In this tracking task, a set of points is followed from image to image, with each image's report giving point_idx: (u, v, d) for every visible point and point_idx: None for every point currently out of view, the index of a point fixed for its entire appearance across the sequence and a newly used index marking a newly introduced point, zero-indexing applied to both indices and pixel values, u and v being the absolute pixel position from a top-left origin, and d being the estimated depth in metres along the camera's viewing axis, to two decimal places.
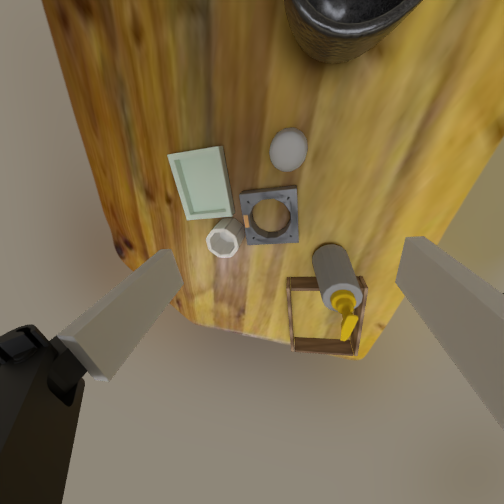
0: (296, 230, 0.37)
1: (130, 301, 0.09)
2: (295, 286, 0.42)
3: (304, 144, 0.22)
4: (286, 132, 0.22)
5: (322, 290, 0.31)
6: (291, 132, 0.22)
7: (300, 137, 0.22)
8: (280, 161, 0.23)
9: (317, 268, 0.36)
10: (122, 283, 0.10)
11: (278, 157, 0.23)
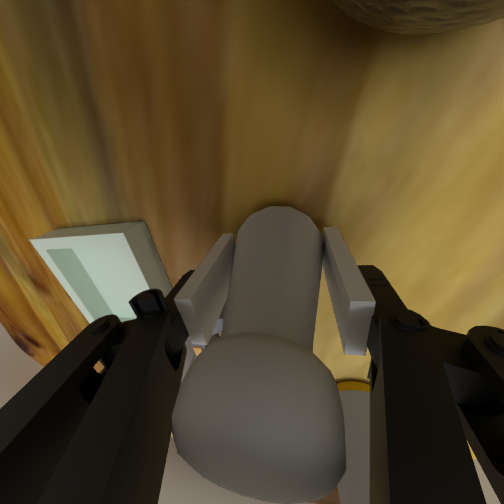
0: None
1: (215, 276, 0.10)
2: None
3: (341, 462, 0.04)
4: (236, 409, 0.04)
5: None
6: (264, 419, 0.04)
7: (318, 445, 0.04)
8: (219, 484, 0.05)
9: None
10: (205, 260, 0.10)
11: (207, 477, 0.05)
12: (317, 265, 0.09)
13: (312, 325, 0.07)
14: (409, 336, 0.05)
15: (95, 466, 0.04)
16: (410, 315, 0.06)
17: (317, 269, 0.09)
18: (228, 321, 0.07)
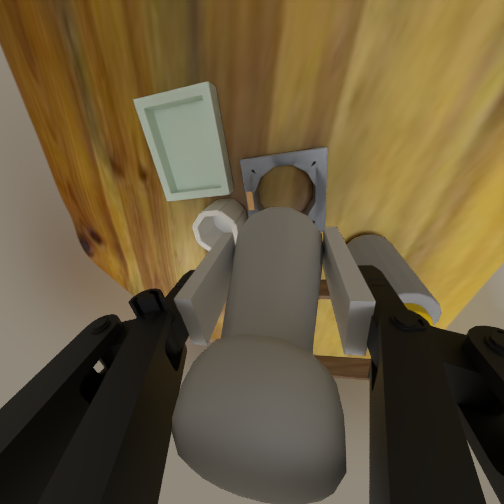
0: (322, 213, 0.25)
1: (215, 276, 0.10)
2: None
3: (341, 464, 0.04)
4: (236, 411, 0.04)
5: None
6: (264, 421, 0.04)
7: (318, 447, 0.04)
8: (219, 486, 0.05)
9: None
10: (205, 260, 0.10)
11: (207, 479, 0.05)
12: (317, 266, 0.09)
13: (312, 326, 0.07)
14: (409, 336, 0.05)
15: (95, 467, 0.04)
16: (410, 315, 0.06)
17: (317, 270, 0.09)
18: (228, 322, 0.07)
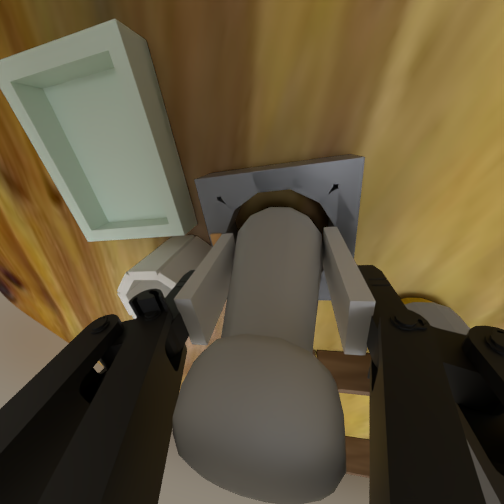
0: None
1: (215, 276, 0.10)
2: None
3: (341, 463, 0.04)
4: (237, 411, 0.04)
5: None
6: (264, 420, 0.04)
7: (318, 446, 0.04)
8: (219, 485, 0.05)
9: None
10: (205, 260, 0.10)
11: (207, 478, 0.05)
12: (317, 266, 0.10)
13: (312, 326, 0.07)
14: (409, 336, 0.05)
15: (95, 466, 0.04)
16: (410, 315, 0.06)
17: (317, 270, 0.09)
18: (228, 322, 0.07)
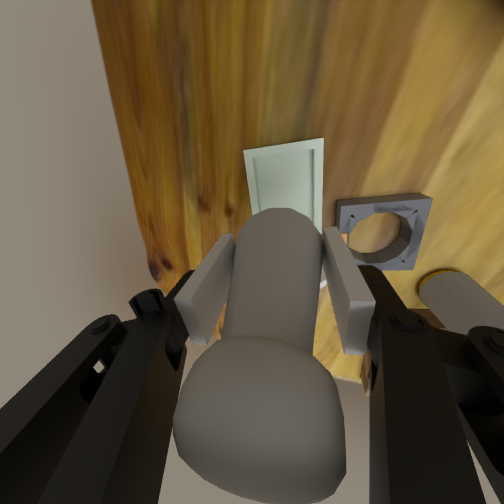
0: (414, 254, 0.27)
1: (215, 276, 0.10)
2: None
3: (341, 464, 0.04)
4: (237, 413, 0.04)
5: None
6: (265, 422, 0.04)
7: (318, 448, 0.04)
8: (220, 486, 0.05)
9: (446, 307, 0.26)
10: (205, 260, 0.10)
11: (208, 480, 0.05)
12: (317, 267, 0.10)
13: (312, 327, 0.07)
14: (409, 336, 0.05)
15: (94, 466, 0.04)
16: (410, 315, 0.06)
17: (317, 271, 0.09)
18: (228, 323, 0.07)
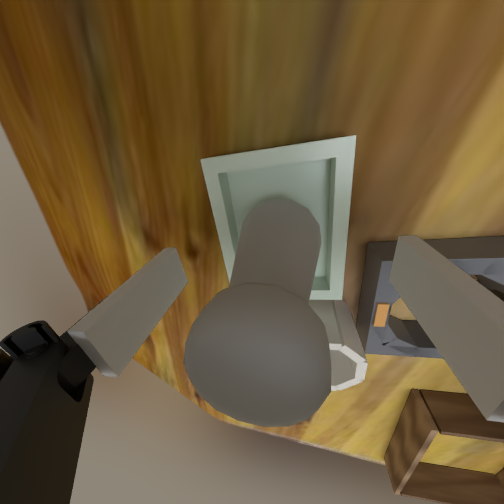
0: None
1: (137, 298, 0.09)
2: (448, 425, 0.21)
3: (325, 376, 0.05)
4: (240, 325, 0.05)
5: None
6: (262, 331, 0.05)
7: (305, 354, 0.05)
8: (222, 409, 0.06)
9: None
10: (129, 281, 0.10)
11: (213, 399, 0.05)
12: (314, 247, 0.10)
13: (306, 289, 0.08)
14: None
15: None
16: None
17: (313, 250, 0.10)
18: (233, 286, 0.08)
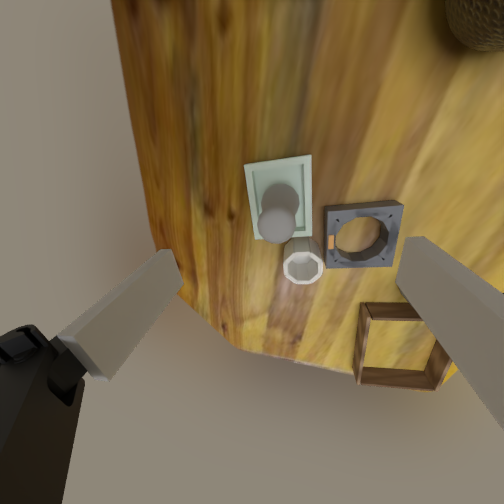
0: (392, 253, 0.31)
1: (130, 301, 0.09)
2: (377, 315, 0.37)
3: (293, 221, 0.21)
4: (274, 209, 0.21)
5: None
6: (279, 209, 0.21)
7: (288, 214, 0.21)
8: (268, 235, 0.22)
9: None
10: (122, 283, 0.10)
11: (266, 232, 0.22)
12: (294, 201, 0.27)
13: (290, 211, 0.24)
14: None
15: None
16: None
17: (294, 202, 0.26)
18: None
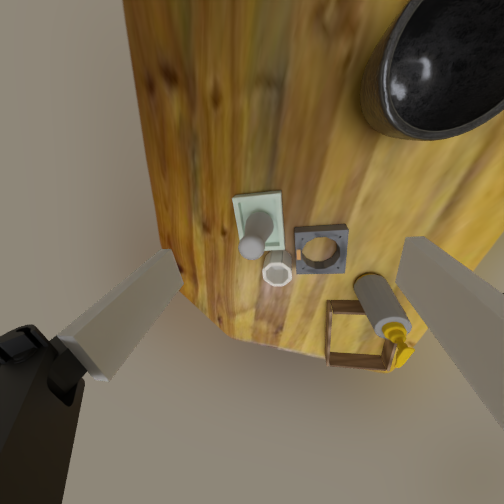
0: (344, 263, 0.41)
1: (130, 301, 0.09)
2: (337, 310, 0.47)
3: (262, 245, 0.31)
4: (248, 238, 0.31)
5: (374, 320, 0.36)
6: (252, 238, 0.31)
7: (258, 241, 0.31)
8: (245, 255, 0.32)
9: (363, 297, 0.41)
10: (122, 283, 0.10)
11: (244, 252, 0.32)
12: (267, 227, 0.37)
13: (262, 236, 0.34)
14: None
15: None
16: None
17: (267, 228, 0.37)
18: None
